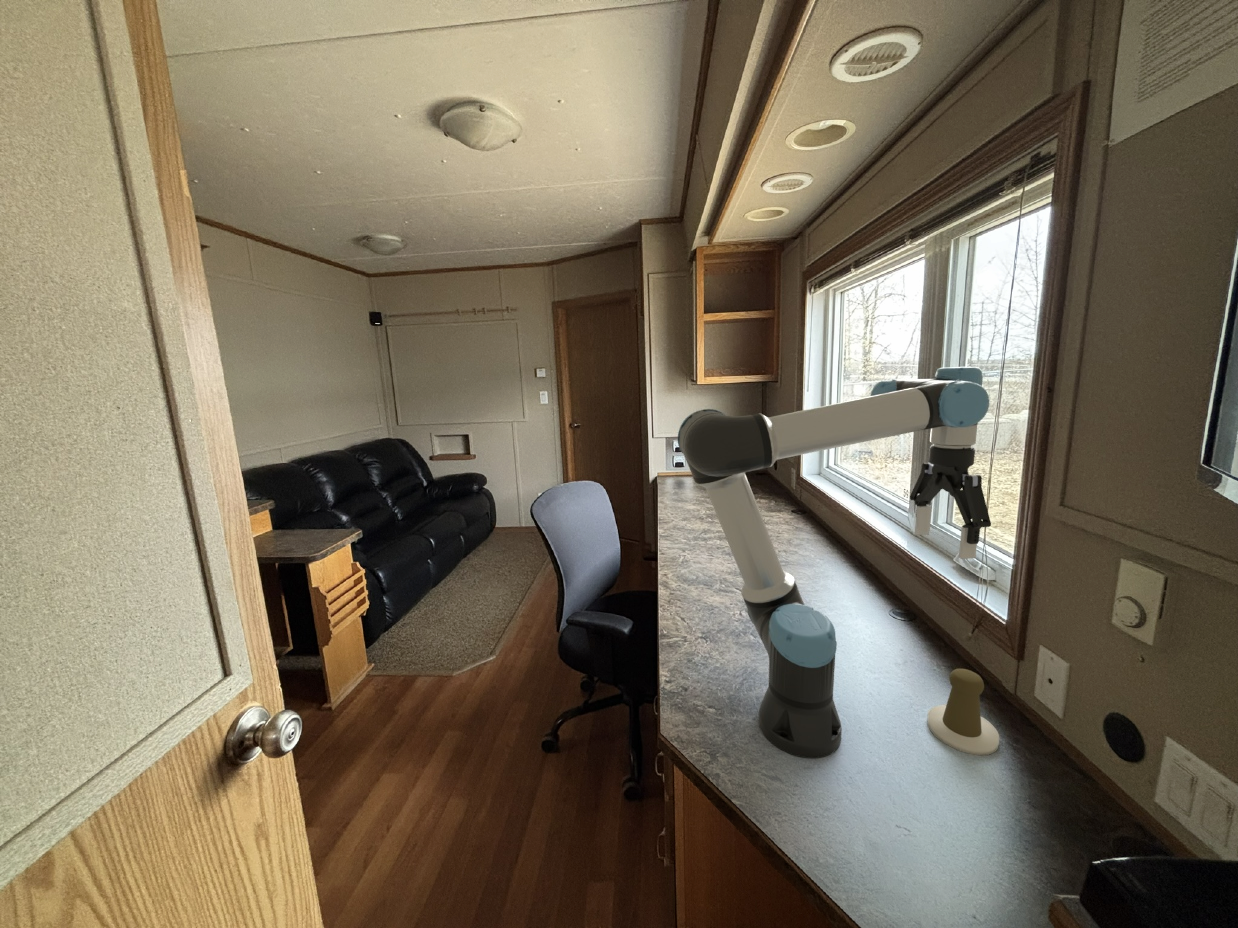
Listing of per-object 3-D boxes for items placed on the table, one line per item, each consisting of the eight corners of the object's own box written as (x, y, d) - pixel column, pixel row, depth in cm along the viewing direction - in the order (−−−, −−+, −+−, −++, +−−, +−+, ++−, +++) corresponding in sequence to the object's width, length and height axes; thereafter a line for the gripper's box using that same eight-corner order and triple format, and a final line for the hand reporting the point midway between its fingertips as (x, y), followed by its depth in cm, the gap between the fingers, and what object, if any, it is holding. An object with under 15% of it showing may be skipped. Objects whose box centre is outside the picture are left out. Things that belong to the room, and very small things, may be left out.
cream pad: (953, 756, 84) (954, 749, 84) (914, 712, 95) (915, 706, 94) (1014, 753, 84) (1015, 746, 84) (968, 710, 95) (969, 703, 95)
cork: (944, 709, 93) (949, 659, 91) (982, 722, 89) (988, 671, 87) (940, 727, 89) (945, 675, 87) (980, 742, 85) (987, 688, 83)
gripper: (1024, 455, 82) (1010, 568, 86) (929, 436, 106) (922, 525, 110) (981, 457, 82) (969, 570, 86) (896, 437, 106) (890, 526, 110)
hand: (942, 545), depth 98 cm, fingers open, 13 cm apart
